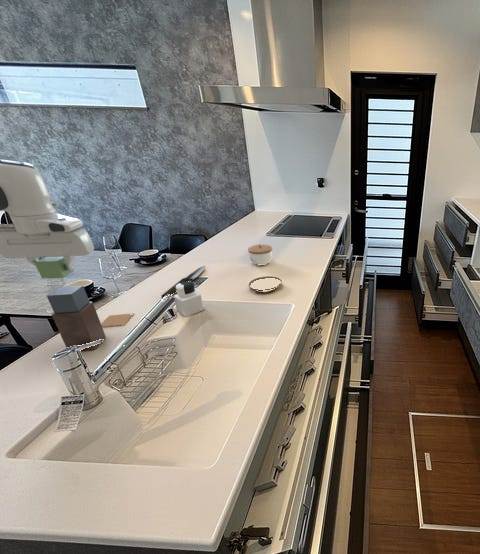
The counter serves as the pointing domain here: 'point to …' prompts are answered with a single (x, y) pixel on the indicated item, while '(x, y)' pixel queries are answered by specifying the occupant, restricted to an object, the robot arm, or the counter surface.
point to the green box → (52, 267)
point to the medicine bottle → (188, 299)
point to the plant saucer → (264, 278)
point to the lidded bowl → (260, 254)
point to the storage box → (80, 327)
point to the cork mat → (116, 320)
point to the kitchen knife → (191, 276)
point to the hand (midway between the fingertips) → (56, 270)
